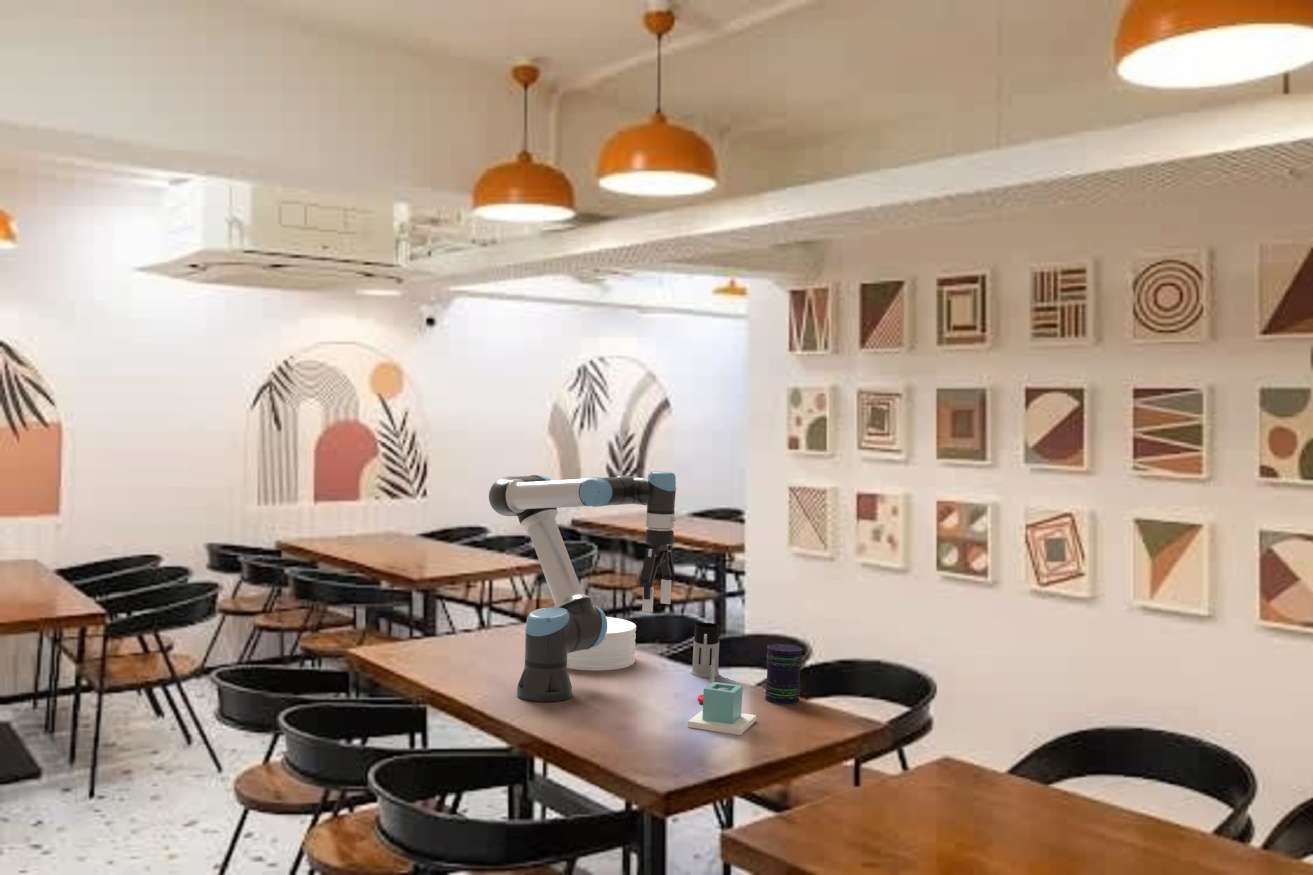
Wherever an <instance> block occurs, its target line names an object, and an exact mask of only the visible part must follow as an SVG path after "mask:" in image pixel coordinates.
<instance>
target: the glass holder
mask: <svg viewBox="0 0 1313 875" xmlns="http://www.w3.org/2000/svg"><path fill="white" fill-rule="evenodd" d="M692 648H693V649H692V650H693V651H692V652H693V653H692V668H691V672H690V674H691V675H692V676H694V677H698V678H711V665H712V658H715V678H716V677H719V676H720V671H719V658H720V657H719V654H720V624H717V623H712V622H698V623H697V622H696V623H694V638H693V647H692Z"/></svg>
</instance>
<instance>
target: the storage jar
mask: <svg viewBox="0 0 1313 875" xmlns="http://www.w3.org/2000/svg"><path fill="white" fill-rule="evenodd" d="M802 651H803V648H802V647H801V646H799V645H797V644H793V643H792V644H789V643H771V644H768V645H767V651H766V653H767V654H766V667H767V669H766V670H767V671H766V679H765V687H764V690H765V691H764V692H765V696H764V700H765V701H766V702H769V703H771V704H774V705H775V704H776V705H786V706H790V705H796V704H799V703H800V697H801V696H800V695H801V694H800V693H801V681H800V678H801V669H802V662H803V660H802V659H803V657H802V654H803V653H802Z"/></svg>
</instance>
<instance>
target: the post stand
mask: <svg viewBox="0 0 1313 875" xmlns="http://www.w3.org/2000/svg"><path fill="white" fill-rule="evenodd" d="M718 689H721V690H728V691H730V689H728V688H718ZM702 717H703V709H702V710H700V711H699V712H698V713H697V714H695V715H694V716H693V717H691V718H690V719H689V720H688V721H687V728H690V729H691V728H692V729H697V730H698V729H699V730H703V731H705V730H706V731H711V732H717V733H723V734H731V735H738V736H741V735H743V734H744V733H745V732H746V731H747V730H748V729H749V728H750V727H751V726H752V725H753V724H754V723H755V722H756V721H757V715H756V714H751V713H750V714H749V713H743V712H741V717H740V718H739V719H738V720H737V721H736V722H734V723H733V724H727V723H720V722H714V721H707V720H702Z"/></svg>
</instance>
